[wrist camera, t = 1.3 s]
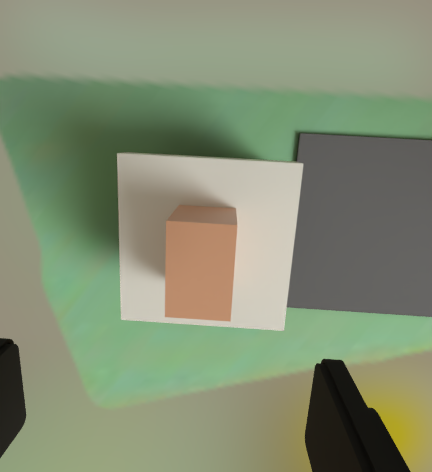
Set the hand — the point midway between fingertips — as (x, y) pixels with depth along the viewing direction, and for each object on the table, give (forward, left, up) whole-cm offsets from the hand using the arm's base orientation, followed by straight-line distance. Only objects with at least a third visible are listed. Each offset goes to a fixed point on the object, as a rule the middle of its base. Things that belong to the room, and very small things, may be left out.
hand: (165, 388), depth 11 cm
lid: (0, 0, -17) cm, 17 cm away
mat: (-11, +12, -23) cm, 28 cm away
